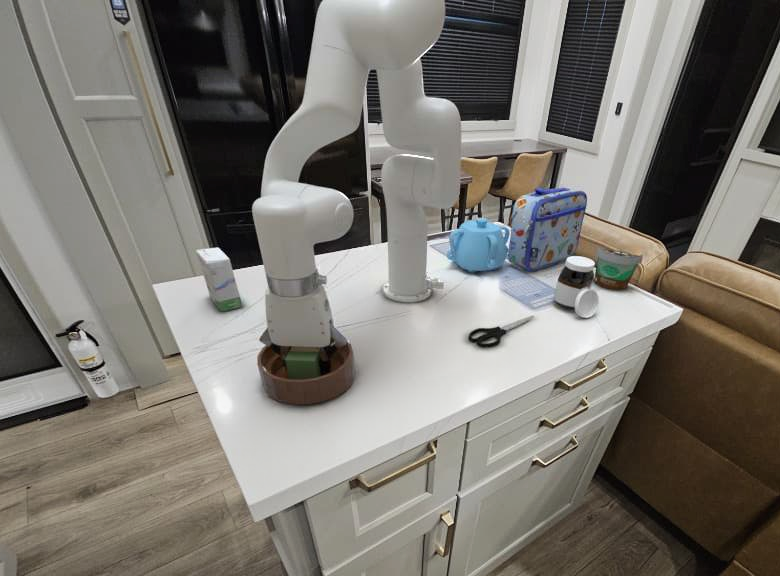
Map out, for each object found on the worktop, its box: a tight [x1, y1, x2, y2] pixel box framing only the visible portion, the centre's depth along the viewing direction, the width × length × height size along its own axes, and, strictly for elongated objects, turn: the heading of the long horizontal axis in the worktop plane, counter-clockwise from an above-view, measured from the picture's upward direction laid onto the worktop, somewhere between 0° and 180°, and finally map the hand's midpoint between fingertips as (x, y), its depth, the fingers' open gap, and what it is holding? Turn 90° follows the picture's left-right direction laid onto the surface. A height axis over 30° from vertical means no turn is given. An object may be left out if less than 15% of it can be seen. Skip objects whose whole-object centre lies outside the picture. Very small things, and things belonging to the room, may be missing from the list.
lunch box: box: [507, 187, 588, 272], centre depth 123 cm, size 28×10×22 cm, turn 133°
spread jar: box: [553, 255, 600, 319], centre depth 103 cm, size 12×11×12 cm
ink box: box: [195, 247, 244, 313], centre depth 94 cm, size 8×5×12 cm, turn 39°
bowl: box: [256, 337, 356, 405], centre depth 76 cm, size 16×16×6 cm
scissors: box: [467, 315, 534, 349], centre depth 95 cm, size 7×1×20 cm
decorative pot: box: [446, 217, 511, 274], centre depth 121 cm, size 16×16×14 cm
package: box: [285, 346, 321, 380], centre depth 75 cm, size 5×7×6 cm
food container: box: [593, 245, 644, 291], centre depth 115 cm, size 12×6×10 cm, turn 68°
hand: (309, 373), depth 76 cm, fingers closed on package, 5 cm apart
